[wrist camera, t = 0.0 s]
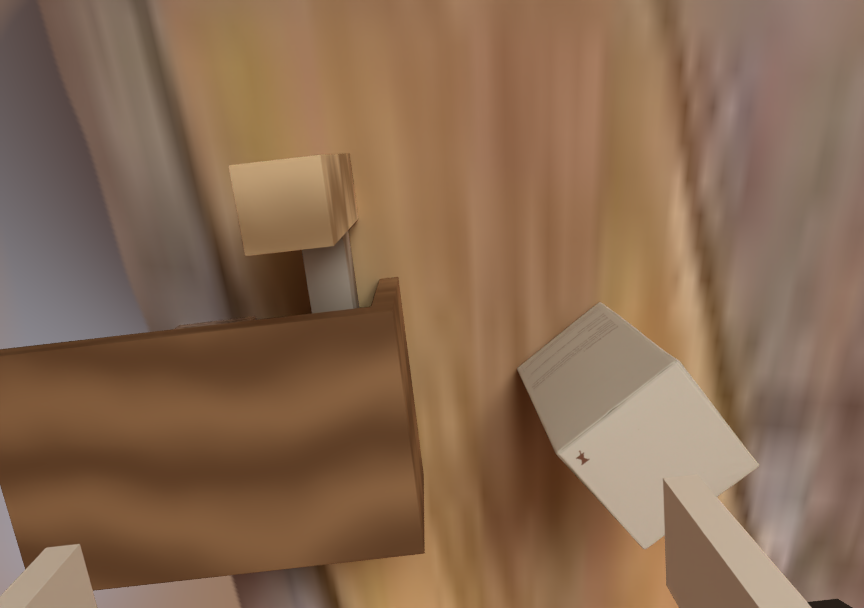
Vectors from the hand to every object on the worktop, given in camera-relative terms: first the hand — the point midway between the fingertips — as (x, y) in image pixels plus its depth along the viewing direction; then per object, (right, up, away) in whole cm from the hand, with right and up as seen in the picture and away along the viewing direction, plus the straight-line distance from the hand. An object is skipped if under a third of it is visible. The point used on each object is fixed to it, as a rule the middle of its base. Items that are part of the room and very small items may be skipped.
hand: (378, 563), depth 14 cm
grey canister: (+12, +1, +29) cm, 31 cm away
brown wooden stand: (-11, 0, +29) cm, 31 cm away
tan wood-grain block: (-5, +7, +27) cm, 28 cm away
